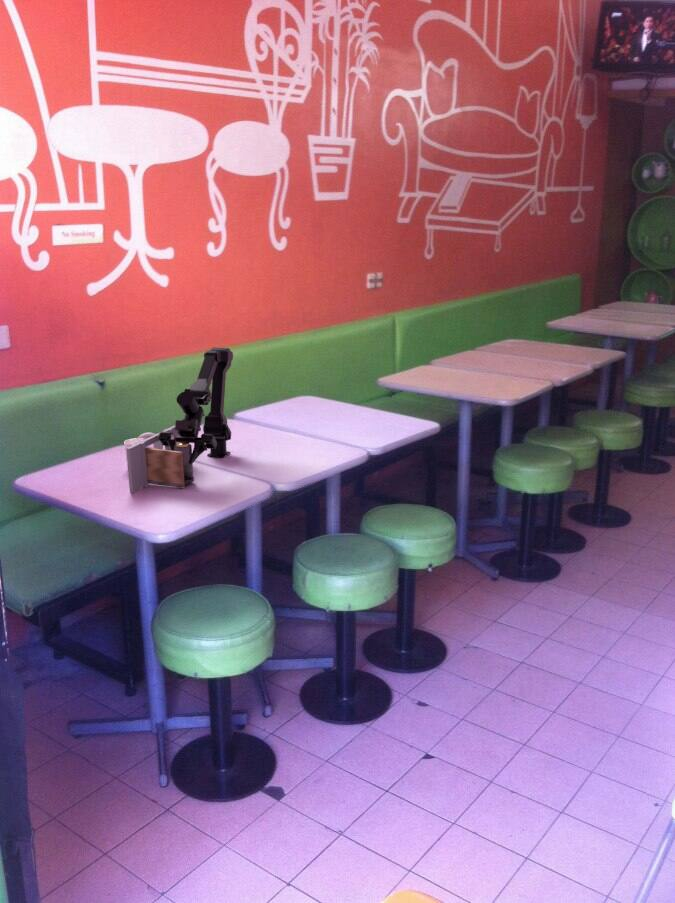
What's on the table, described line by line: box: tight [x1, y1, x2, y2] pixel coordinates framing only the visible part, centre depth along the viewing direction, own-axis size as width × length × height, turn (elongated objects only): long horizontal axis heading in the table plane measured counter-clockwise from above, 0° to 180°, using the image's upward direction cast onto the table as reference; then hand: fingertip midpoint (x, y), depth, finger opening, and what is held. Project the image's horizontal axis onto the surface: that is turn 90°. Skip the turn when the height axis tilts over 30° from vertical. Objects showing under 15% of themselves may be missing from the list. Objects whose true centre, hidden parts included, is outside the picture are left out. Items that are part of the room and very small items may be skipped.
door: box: [145, 447, 186, 489], centre depth 278 cm, size 14×1×12 cm, turn 70°
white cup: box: [123, 437, 148, 468], centre depth 297 cm, size 8×8×10 cm
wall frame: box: [126, 424, 180, 494], centre depth 288 cm, size 34×2×15 cm, turn 159°
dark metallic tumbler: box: [174, 442, 195, 485], centre depth 280 cm, size 6×6×13 cm
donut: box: [137, 431, 164, 450], centre depth 308 cm, size 10×4×10 cm, turn 94°
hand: (182, 463), depth 279 cm, fingers closed on dark metallic tumbler, 6 cm apart
